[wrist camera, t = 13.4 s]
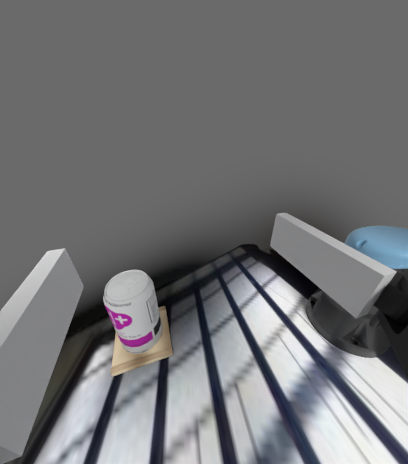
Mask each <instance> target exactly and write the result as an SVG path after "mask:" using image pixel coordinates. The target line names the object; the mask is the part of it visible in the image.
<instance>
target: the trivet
mask: <svg viewBox="0 0 408 464" xmlns="http://www.w3.org/2000/svg"><path fill="white" fill-rule="evenodd" d="M159 313H160V318H161V323H162V334H161V337H160V339H159V340H158V342H157V344H156V345H155V346H153V347H152V348H151V349H150V350H148V351H146V352H144V353H141V354H132V353H128V352H127V351H126V350H125V349H124V348H123V346H122V344H121V342H120V339H119V337H118V335H117V332H116V335H115V344H114V352H113V361H112V368H111V375H112V376H115V375H118V374H121V373H124V372H127V371H129V370H132V369H135V368H138V367H141V366H144V365H146V364H149V363H152V362H155V361H158V360H161V359H164V358H166V357H169V356H172V355H173V352H172V345H171V339H170V333H169V326H168V320H167V314H166V308H165V306H162V307H159Z"/></svg>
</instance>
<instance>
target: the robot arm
mask: <svg viewBox="0 0 408 464" xmlns="http://www.w3.org/2000/svg"><path fill="white" fill-rule="evenodd" d="M270 246H271V247H272V248H273V249H274V250H275V251H277V252H278V253H279V254H280V255H281V256H283V257H284V258H285V259H286V260H287V261H288V262H290V263H291V264H292V265H293V266H294V267H296V268H297V269H298V270H299V271H300V272H301V273H303V274H304V275H305V276H306V277H307V278H309V279H310V280H311V281H312V282H313V283H314V284H316V285H317V286H318V287H319V289H318V290H316V291H315V292H314V293H313V294H312V295H311V296H310V298H309V300H308V303H307V306H306V311H307V315H308V318H309V320H310V322H311V323H312V325H313V326H314V327H315V329H316V330H317V331H318V332H319V333H320V334H321V335H322V336H323V337H324V338H325V339H327V340H328V341H329V342H330V343H332V344H333V345H335V346H337V347H338V348H340V349H342V350H344V351H346V352H348V353H351V354H353V355H357V356H361V357H368V358H373V357H378V356H381V355H382V354H384V353H385V352H386V351H387V349H388V348H389V347H390V346H392V348H393V350H394V352H395V354H396V356H397V358H398V360H399V362H400V364H401V366H402V368H403V370H404V372H405V374H406V376H407V378H408V229H405V228H399V227H390V226H370V227H363V228H359V229H357V230H355V231H353V232H351V233H350V234H349V235H348V237H347V239H346V241H345V243H342V242H340V241H338V240H336V239H334V238H332V237H331V236H329V235H327V234H325V233H323V232H321V231H319V230H317V229H315V228H314V227H312V226H310V225H308V224H306V223H304V222H302V221H300V220H298V219H296V218H295V217H293V216H291V215H289V214H287V213H280V214H277V215H276V220H275V224H274V229H273V234H272V239H271V244H270ZM83 287H84V286H83V284H82V282H81V280H80V278H79V276H78V274H77V272H76V270H75V268H74V266H73V263H72V262H71V259H70V257H69V255H68V253H67V252H66V249H65V248H64V249H58V250H52V251H47V253H46V254H45V255H44V256H43V258H42V259H41V260H40V261H39V263H38V264H37V265H36V267H35V268H34V269H33V270H32V272H31V273H30V274H29V276H28V277H27V278H26V279H25V281H24V282H23V283H22V284H21V286H20V287H19V288H18V289H17V291H16V292H15V293H14V295H13V296H12V297H11V298H10V300H9V301H8V302H7V303H6V305H5V306H4V307H3V309H2V310H1V311H0V464H3V463H6V462H8V461H11V460H13V459H15V458H18V457H20V456H22V454H23V451H24V448H25V446H26V443H27V440H28V437H29V435H30V432H31V429H32V426H33V424H34V421H35V418H36V416H37V413H38V410H39V407H40V405H41V402H42V399H43V396H44V394H45V391H46V388H47V385H48V383H49V380H50V377H51V374H52V372H53V369H54V366H55V364H56V361H57V358H58V355H59V353H60V350H61V347H62V344H63V342H64V339H65V336H66V333H67V331H68V328H69V325H70V322H71V320H72V317H73V314H74V312H75V309H76V306H77V303H78V301H79V298H80V295H81V292H82V290H83Z"/></svg>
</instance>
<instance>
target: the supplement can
mask: <svg viewBox="0 0 408 464" xmlns="http://www.w3.org/2000/svg"><path fill="white" fill-rule="evenodd" d="M103 300H104V304H105V306H106V309H107V311H108V314H109V316H110V318H111V321H112V323H113V325H114V328H115V330H116V332H117V335H118V337H119V339H120V342H121V344H122V346H123V348H124V349H125V350H126V351H127V352H128V353H132V354H141V353H144V352H146V351H148V350H150V349H151V348H152V347H153V346H155V345H156V344H157V342H158V340H159V339H160V337H161V334H162V323H161V318H160V313H159V308H158V303H157V298H156V294H155V289H154V284H153V281H152V280H151V278H150V277H149V276H147V274H146V273H144V272H143V271H140V270H128V271H125V272H122V273H120V274H118V275H116V276H114V277H113V278H112V279H111V280H110V281H109V282H108V283H107V285H106V287H105V294H104V297H103Z"/></svg>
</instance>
